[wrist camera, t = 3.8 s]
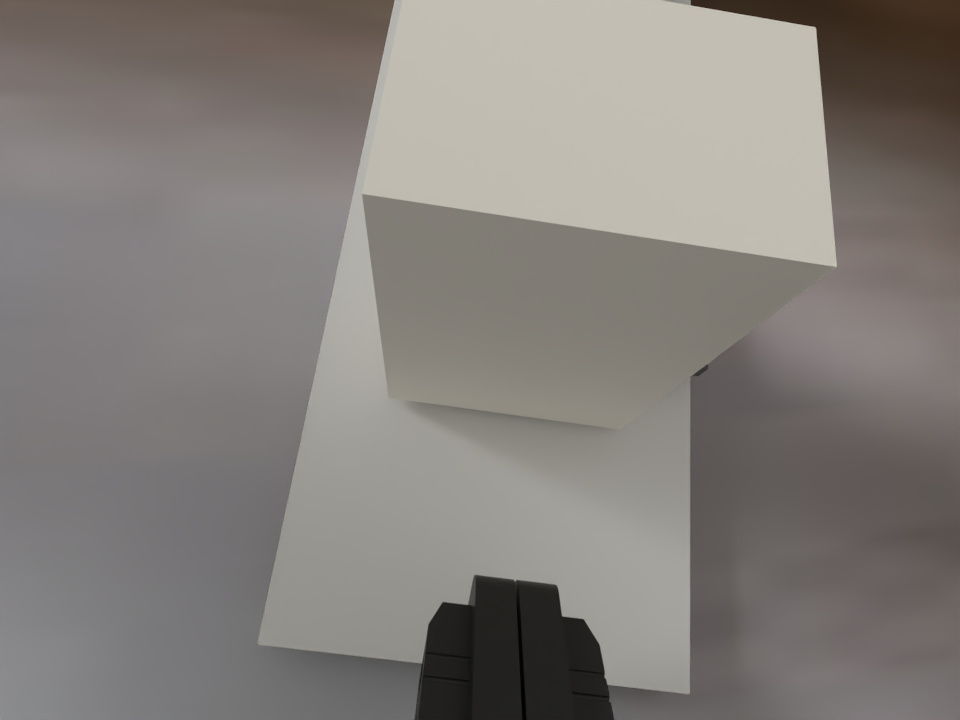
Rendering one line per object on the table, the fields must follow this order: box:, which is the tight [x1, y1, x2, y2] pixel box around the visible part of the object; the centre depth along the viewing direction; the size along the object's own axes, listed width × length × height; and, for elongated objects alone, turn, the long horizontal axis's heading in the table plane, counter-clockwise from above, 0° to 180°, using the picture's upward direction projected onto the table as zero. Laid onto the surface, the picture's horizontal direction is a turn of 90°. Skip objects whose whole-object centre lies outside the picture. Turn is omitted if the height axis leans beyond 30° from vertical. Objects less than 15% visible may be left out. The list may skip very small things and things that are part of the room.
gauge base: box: [257, 0, 691, 694], centre depth 15 cm, size 10×28×12 cm, turn 173°
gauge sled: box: [362, 0, 837, 430], centre depth 13 cm, size 8×5×9 cm, turn 83°
